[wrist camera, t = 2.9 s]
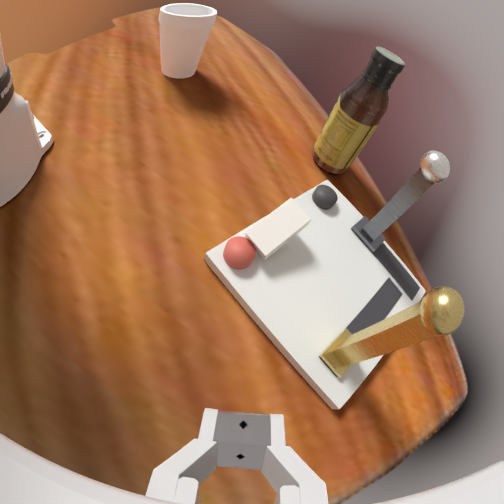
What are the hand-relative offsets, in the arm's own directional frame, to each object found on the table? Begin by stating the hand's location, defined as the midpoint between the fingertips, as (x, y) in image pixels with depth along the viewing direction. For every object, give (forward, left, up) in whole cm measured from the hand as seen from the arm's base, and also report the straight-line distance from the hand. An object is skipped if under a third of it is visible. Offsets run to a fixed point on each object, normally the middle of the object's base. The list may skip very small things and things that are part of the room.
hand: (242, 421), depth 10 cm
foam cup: (-45, +27, -16) cm, 55 cm away
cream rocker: (-9, +16, -12) cm, 22 cm away
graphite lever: (-2, +27, -14) cm, 30 cm away
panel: (-1, +19, -15) cm, 25 cm away
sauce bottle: (-14, +34, -16) cm, 40 cm away
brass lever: (+5, +13, -14) cm, 19 cm away
